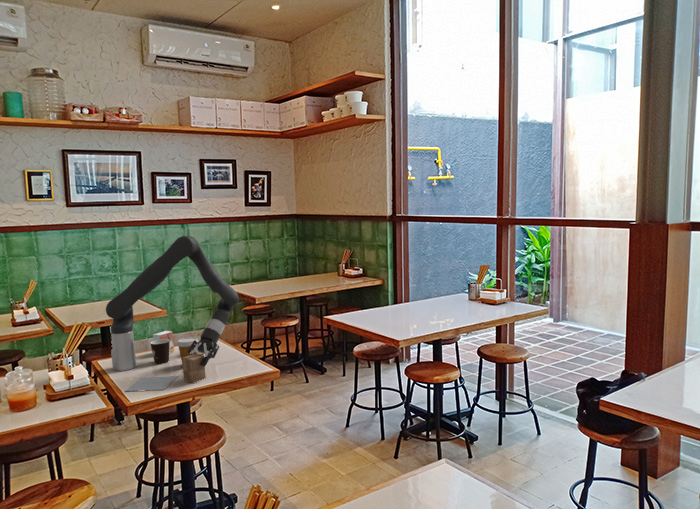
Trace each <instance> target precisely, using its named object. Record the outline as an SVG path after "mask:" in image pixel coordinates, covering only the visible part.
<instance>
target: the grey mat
mask: <svg viewBox="0 0 700 509" xmlns="http://www.w3.org/2000/svg"><path fill="white" fill-rule="evenodd" d="M178 377H179V376H178V375H168V376H167V375H163V376H143V377H140V378H138V380H136V381H135V382H134V383H132V384H131V385H130V386H129V387H127V388H126V389H125V390H124V392H125V391H132V392H139V391H138V390H154V391H165V390H166V389H167V388H168V387H170V385H171V384H172V383H173V382H174V381H176V379H177V378H178ZM166 387H167V388H166ZM165 388H166V389H165ZM162 389H163V390H162ZM164 389H165V390H164Z"/></svg>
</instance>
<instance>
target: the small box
mask: <svg viewBox="0 0 700 509" xmlns="http://www.w3.org/2000/svg"><path fill="white" fill-rule="evenodd" d="M160 339H168V340H170V342H169V352H171V353H174V352H175V345H174V333H173V331H171V330H164V331H161V332H156V333H154V334H152V340H153V341H155V340H160ZM173 351H174V352H173Z"/></svg>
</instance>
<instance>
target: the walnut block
mask: <svg viewBox="0 0 700 509" xmlns="http://www.w3.org/2000/svg"><path fill="white" fill-rule="evenodd" d="M204 357H205V356H204V355H198V354H192V355H189V356H186V357H183V358H182V360H181V363H182V362H183V365H182V371H183V372H182V373H183V381H184V382H187V381H188V383H192V382H196V383H198V382H200V381H199V380H201V381H203V380H205V379H206V375H207V374H206V366H205V367H203V366H201V362H202V360H203V358H204ZM204 378H205V379H204ZM202 379H203V380H202ZM197 381H198V382H197Z"/></svg>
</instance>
